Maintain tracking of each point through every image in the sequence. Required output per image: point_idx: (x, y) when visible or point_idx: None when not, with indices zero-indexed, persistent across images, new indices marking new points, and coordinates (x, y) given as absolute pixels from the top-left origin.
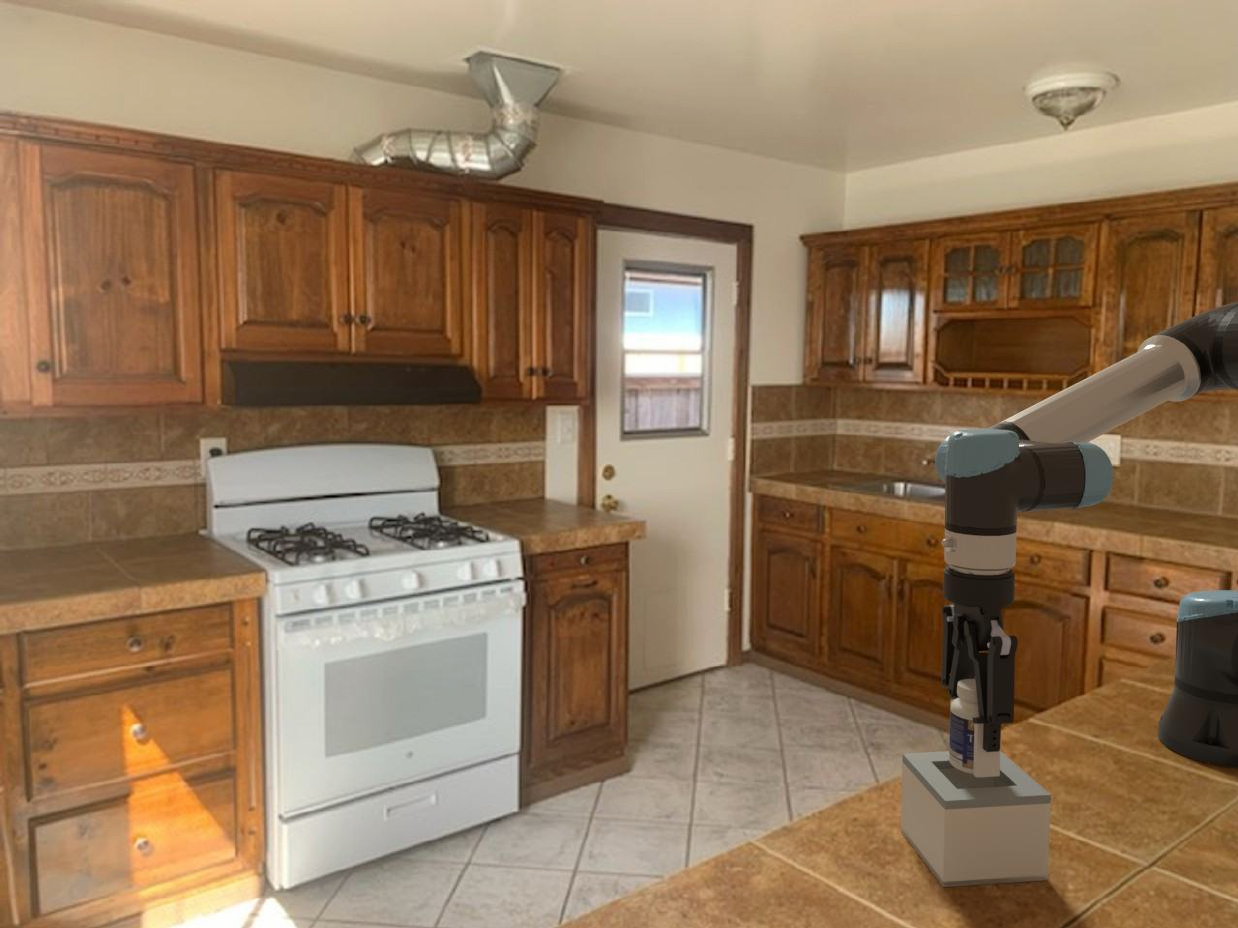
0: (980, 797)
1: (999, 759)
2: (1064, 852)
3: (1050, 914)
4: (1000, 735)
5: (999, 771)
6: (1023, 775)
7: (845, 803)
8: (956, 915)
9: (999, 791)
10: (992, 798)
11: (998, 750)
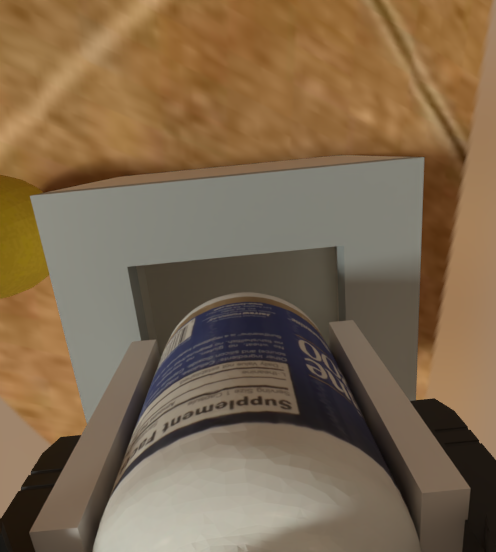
0: (406, 383)
1: (373, 351)
2: (235, 61)
3: (447, 201)
4: (493, 457)
5: (356, 327)
6: (270, 192)
7: (51, 442)
8: (424, 356)
9: (379, 318)
10: (415, 352)
11: (437, 404)
